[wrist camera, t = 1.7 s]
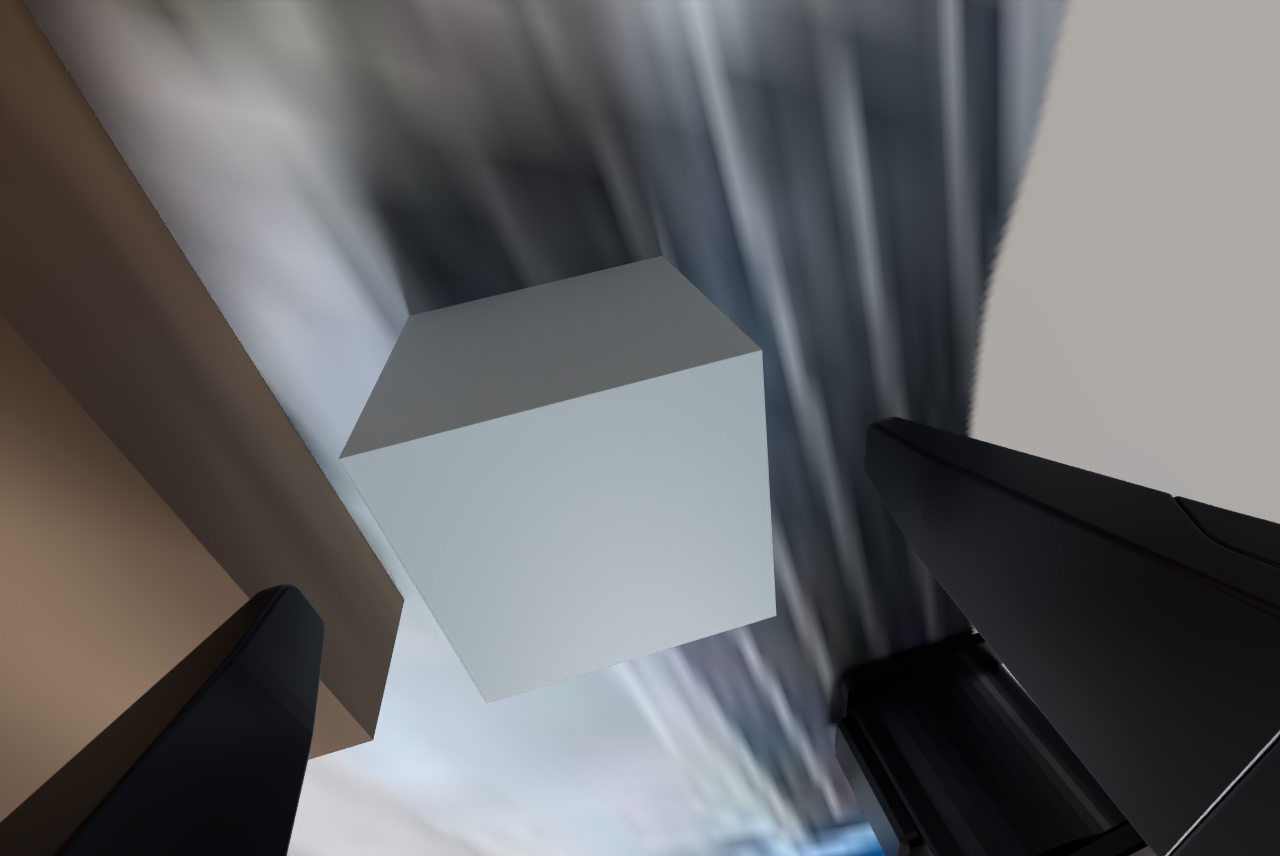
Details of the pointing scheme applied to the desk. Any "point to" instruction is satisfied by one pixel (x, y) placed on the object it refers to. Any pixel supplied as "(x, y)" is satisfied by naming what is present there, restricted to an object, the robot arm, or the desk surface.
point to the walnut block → (139, 454)
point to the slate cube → (573, 473)
